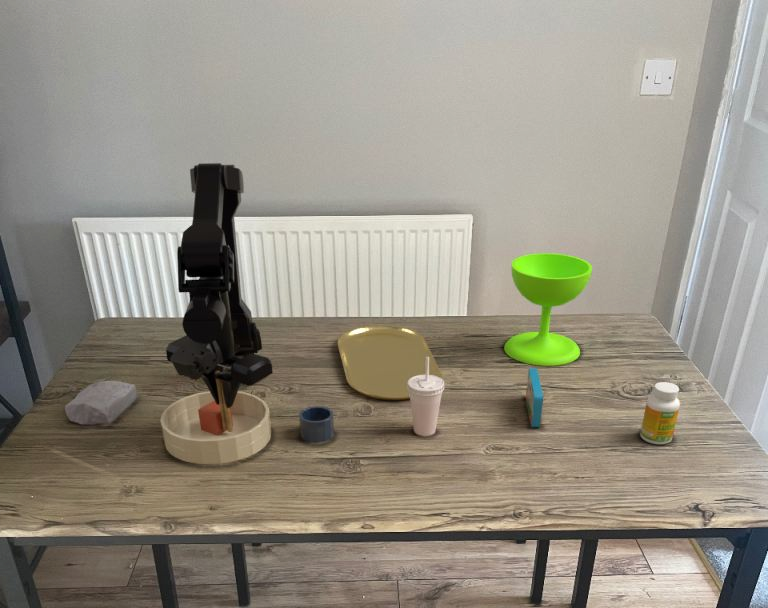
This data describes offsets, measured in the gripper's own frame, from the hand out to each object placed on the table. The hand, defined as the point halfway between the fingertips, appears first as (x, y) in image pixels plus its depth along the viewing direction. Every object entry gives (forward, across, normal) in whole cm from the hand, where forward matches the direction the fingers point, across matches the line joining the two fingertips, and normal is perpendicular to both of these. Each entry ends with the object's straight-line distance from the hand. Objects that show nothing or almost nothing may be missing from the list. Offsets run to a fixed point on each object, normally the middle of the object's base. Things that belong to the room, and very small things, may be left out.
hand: (224, 405), depth 137 cm
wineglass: (+6, +31, +64) cm, 71 cm away
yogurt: (+6, +41, +37) cm, 56 cm away
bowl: (+6, -1, -2) cm, 6 cm away
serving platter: (+6, +8, +40) cm, 41 cm away
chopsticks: (+5, 0, 0) cm, 5 cm away
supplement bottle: (+6, +63, +40) cm, 75 cm away
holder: (+6, +13, +8) cm, 17 cm away
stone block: (+6, -27, -5) cm, 28 cm away
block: (+6, -3, 0) cm, 6 cm away
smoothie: (+6, +28, +20) cm, 35 cm away
